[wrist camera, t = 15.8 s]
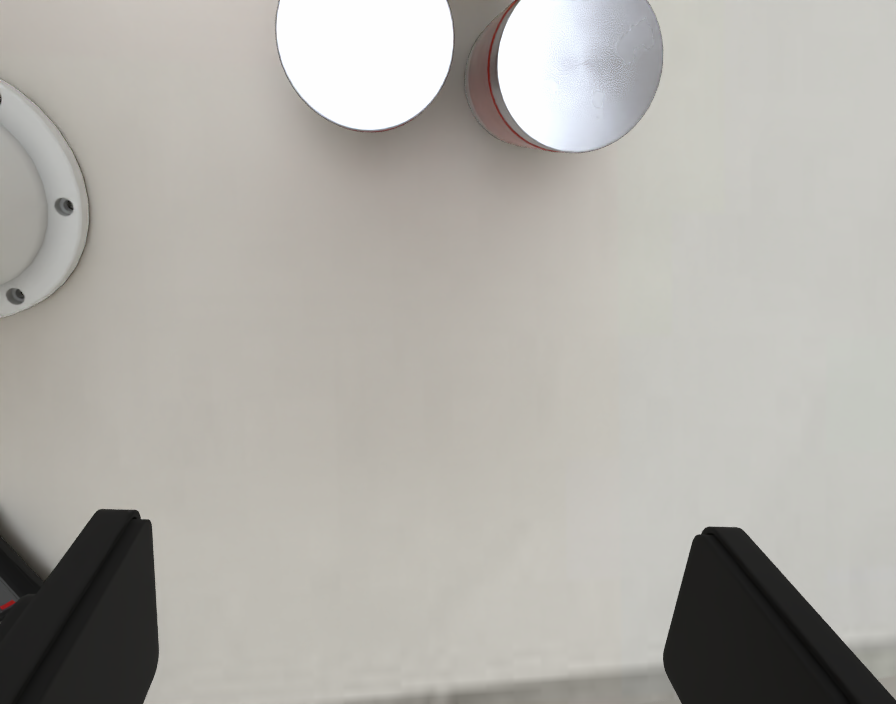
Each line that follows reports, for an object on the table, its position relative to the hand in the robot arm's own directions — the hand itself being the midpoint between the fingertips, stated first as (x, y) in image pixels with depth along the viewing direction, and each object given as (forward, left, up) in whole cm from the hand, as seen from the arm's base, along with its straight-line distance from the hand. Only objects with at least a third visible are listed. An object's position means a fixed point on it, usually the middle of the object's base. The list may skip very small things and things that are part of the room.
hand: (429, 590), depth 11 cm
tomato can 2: (+6, +10, -26) cm, 29 cm away
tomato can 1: (-2, +10, -26) cm, 28 cm away
